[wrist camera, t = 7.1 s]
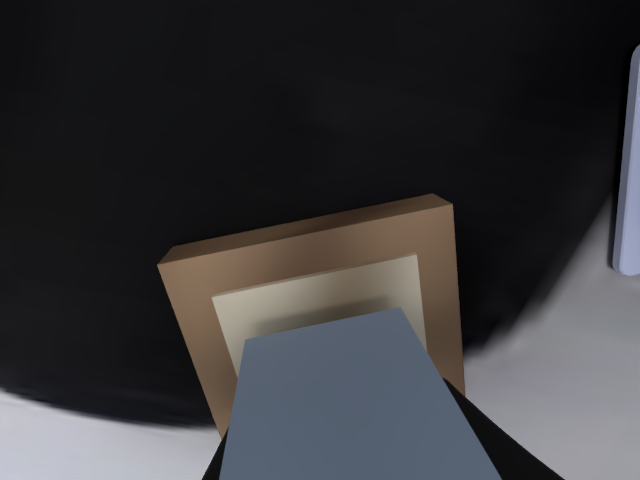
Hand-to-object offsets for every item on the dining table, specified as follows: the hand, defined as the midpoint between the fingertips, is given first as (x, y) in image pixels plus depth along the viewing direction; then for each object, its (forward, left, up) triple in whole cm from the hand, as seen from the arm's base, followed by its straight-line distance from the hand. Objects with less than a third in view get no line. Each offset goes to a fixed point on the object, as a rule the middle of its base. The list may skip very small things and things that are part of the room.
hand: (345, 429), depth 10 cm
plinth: (0, 0, -5) cm, 5 cm away
